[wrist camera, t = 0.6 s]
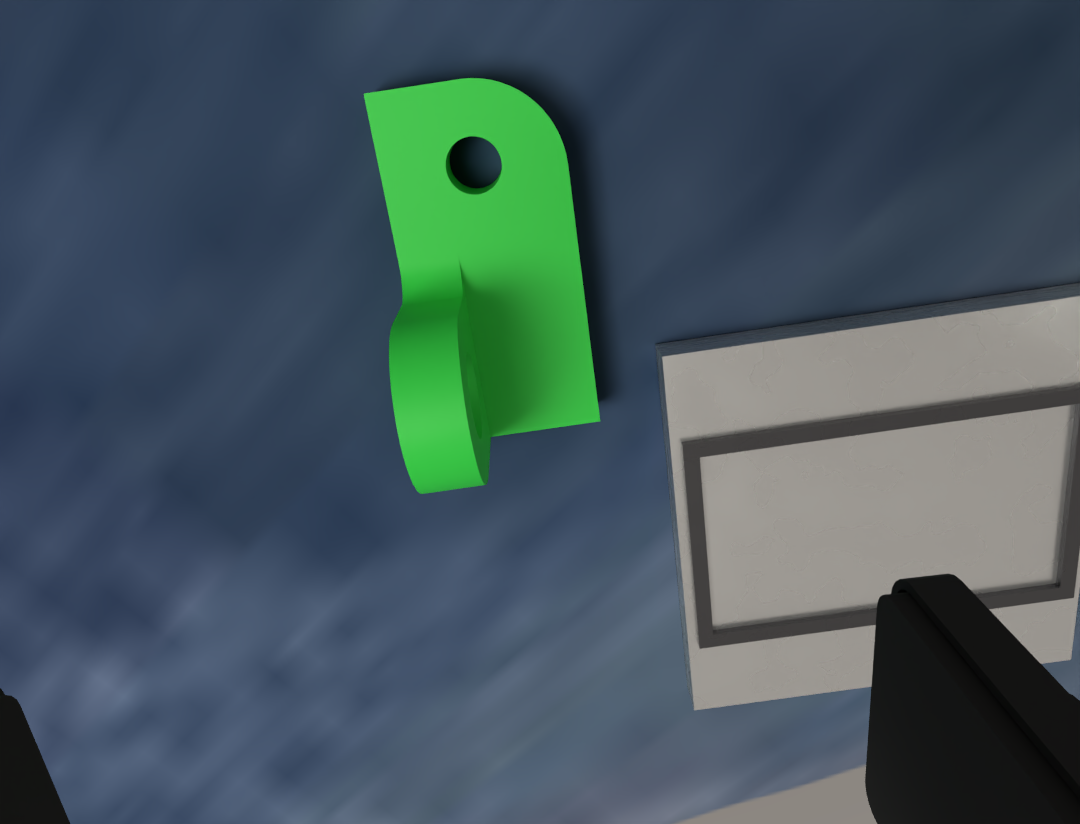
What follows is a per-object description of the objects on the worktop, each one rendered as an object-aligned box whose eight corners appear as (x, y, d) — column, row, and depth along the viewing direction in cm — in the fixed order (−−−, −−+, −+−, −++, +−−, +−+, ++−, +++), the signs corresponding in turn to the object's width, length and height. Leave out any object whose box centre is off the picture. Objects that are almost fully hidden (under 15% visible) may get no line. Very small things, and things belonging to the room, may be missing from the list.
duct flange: (1087, 281, 30) (1121, 292, 28) (1049, 637, 36) (1075, 664, 34) (655, 344, 30) (663, 359, 29) (687, 686, 36) (695, 715, 35)
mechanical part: (594, 401, 31) (620, 498, 24) (440, 423, 32) (418, 526, 24) (552, 66, 27) (567, 57, 20) (373, 93, 27) (321, 95, 20)
